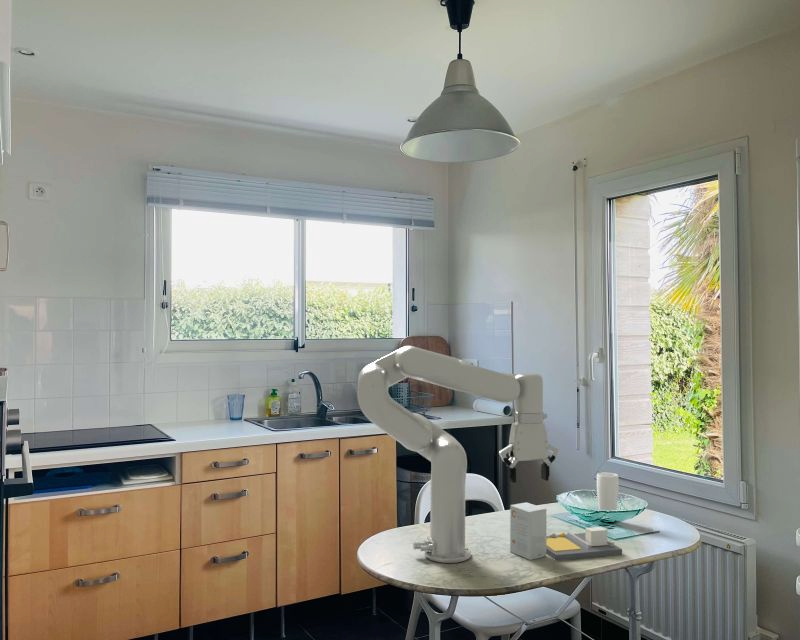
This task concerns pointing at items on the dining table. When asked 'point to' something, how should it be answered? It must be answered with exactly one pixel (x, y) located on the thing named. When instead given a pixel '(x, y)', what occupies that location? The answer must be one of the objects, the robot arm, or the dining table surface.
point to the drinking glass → (607, 490)
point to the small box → (528, 530)
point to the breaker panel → (577, 547)
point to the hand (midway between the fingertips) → (528, 480)
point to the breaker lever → (596, 536)
